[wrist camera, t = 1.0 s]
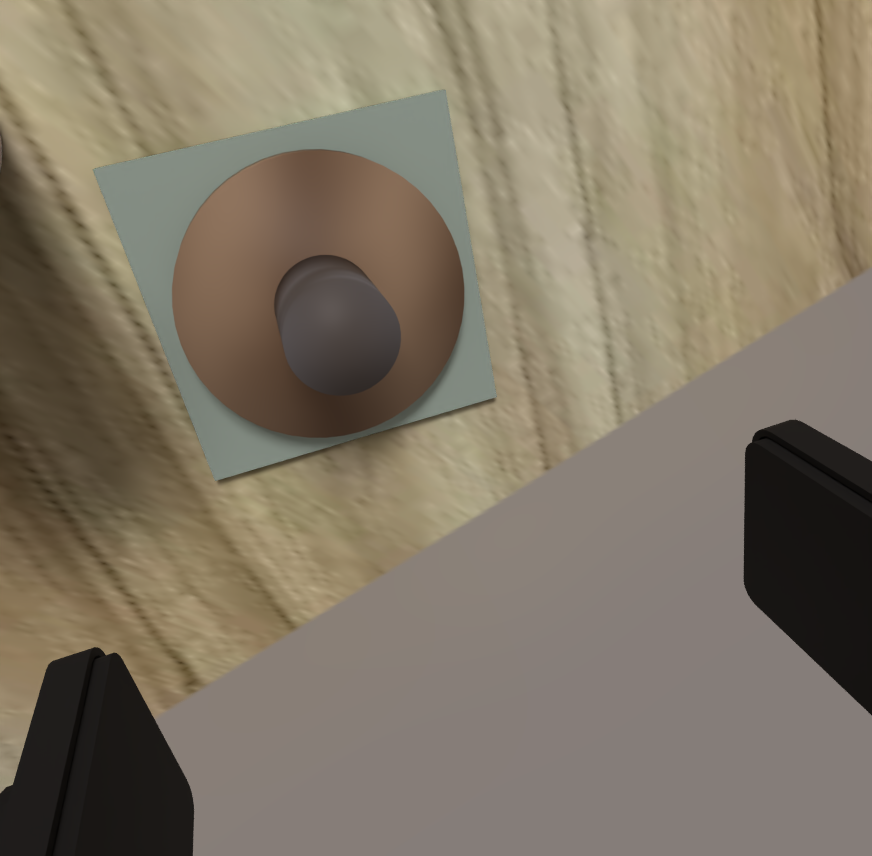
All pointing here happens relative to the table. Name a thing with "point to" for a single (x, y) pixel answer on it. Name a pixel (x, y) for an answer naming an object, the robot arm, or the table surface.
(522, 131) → the table surface
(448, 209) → the mat
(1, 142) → the cup
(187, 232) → the lid
